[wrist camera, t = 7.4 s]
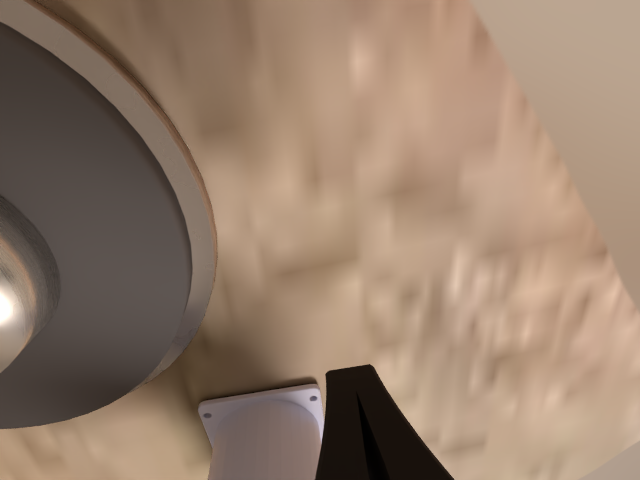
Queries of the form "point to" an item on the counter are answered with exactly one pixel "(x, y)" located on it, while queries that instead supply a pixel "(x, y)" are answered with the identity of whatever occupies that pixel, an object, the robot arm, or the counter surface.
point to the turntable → (87, 239)
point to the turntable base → (156, 130)
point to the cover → (23, 282)
